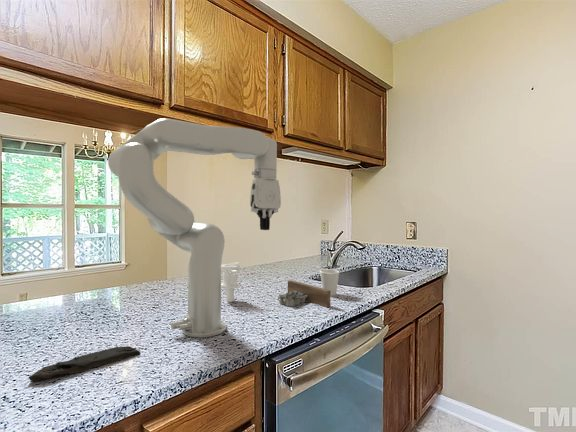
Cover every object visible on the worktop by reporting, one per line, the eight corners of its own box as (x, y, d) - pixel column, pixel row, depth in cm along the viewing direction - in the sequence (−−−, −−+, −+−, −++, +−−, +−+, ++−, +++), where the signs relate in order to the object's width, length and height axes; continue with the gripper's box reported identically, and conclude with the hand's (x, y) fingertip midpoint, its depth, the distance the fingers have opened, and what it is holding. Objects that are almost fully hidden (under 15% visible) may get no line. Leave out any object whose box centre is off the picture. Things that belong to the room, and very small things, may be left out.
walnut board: (326, 307, 120) (326, 291, 120) (287, 295, 137) (287, 280, 137) (330, 306, 122) (330, 290, 122) (291, 294, 138) (291, 280, 138)
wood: (131, 346, 86) (131, 334, 86) (143, 355, 81) (143, 343, 80) (24, 377, 70) (24, 363, 70) (30, 390, 65) (30, 375, 65)
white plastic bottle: (235, 303, 124) (236, 264, 123) (218, 302, 125) (218, 263, 125) (241, 298, 131) (241, 261, 130) (224, 297, 132) (224, 260, 131)
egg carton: (289, 308, 120) (289, 297, 120) (275, 303, 125) (275, 293, 125) (308, 302, 128) (308, 292, 127) (294, 298, 133) (295, 288, 133)
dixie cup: (342, 293, 141) (342, 270, 141) (334, 298, 134) (335, 273, 133) (324, 290, 145) (324, 268, 145) (316, 295, 138) (316, 271, 138)
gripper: (253, 173, 102) (253, 231, 103) (289, 176, 112) (288, 229, 113) (240, 174, 108) (240, 229, 109) (275, 178, 118) (274, 228, 118)
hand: (264, 229), depth 111 cm, fingers closed
